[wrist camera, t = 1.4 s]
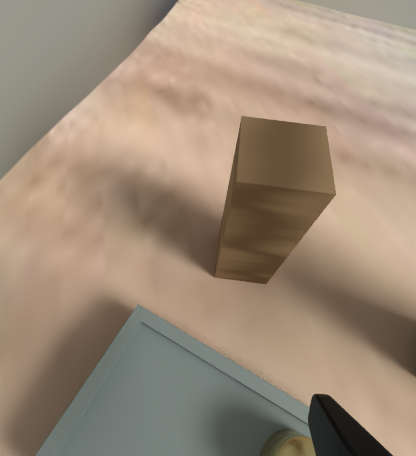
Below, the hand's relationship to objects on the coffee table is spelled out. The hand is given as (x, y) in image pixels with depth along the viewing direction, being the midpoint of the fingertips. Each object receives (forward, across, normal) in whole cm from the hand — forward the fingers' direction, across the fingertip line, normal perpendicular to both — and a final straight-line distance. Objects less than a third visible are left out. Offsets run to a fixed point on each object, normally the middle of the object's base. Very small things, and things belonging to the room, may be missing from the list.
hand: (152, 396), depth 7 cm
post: (+17, -5, +2) cm, 18 cm away
